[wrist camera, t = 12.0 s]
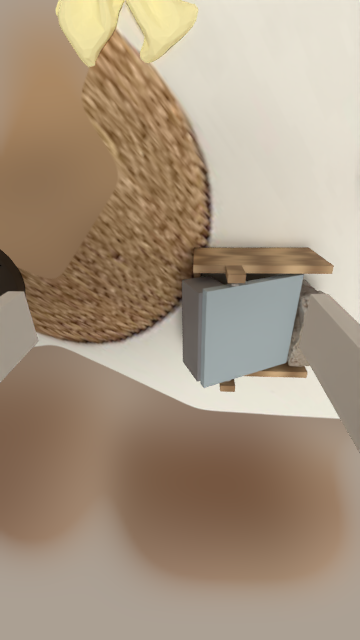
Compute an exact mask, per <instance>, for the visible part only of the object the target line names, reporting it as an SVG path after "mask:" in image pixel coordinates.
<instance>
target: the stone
mask: <svg viewBox="0 0 360 640" xmlns="http://www.w3.org/2000/svg"><path fill="white" fill-rule="evenodd" d="M310 294H325V293H323V292H322V291H316V290H315V289H314V288H313V287H312V286H311V285H310V284H309V283H308V282H307V281H306V280H303V281H302V286H301V291H300V296H299V301H298V306H297V311H296V316H295V321H294V326H293V331H292V336H291V342H290V347H289V352H288V357H287V362H288V364H289V366H298V367H301V366H310V364H309V363H308V361H307V359H306V357H305V356H304V354H303V352H302V350H301V349H300V347H299V345H300V341H301V336H302V331H303V327H304V322H305V317H306V313H307V308H308V304H309V299H310Z"/></svg>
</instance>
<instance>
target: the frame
mask: <svg viewBox="0 0 360 640" xmlns="http://www.w3.org/2000/svg"><path fill="white" fill-rule="evenodd" d="M333 267H334V266H333V265H332V264H331V263H329V262H328V261H326V260H325V259H324V258H322V257H321V256H319V255H318V254H317V253H315V252H314V251H312V250H311V249H310V248H194V261H193V273H194V278H198V277H200V275H201V273H225V275H226V279H227V283H245V281H246V273H286V274H332V271H333ZM245 376H260V377H299V378H306V377H307V370H306V369H305V367H304V366H301V367H298V366H289V364H288V362H286V363H284V364H281V365H277V366H274V367H271V368H268V369H264V370H261V371H258V372H254V373H251V374H248V375H245ZM220 391H226V392H235V383H234V379H231V381H225V382H222V383H220Z"/></svg>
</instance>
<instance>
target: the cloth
mask: <svg viewBox="0 0 360 640" xmlns="http://www.w3.org/2000/svg"><path fill="white" fill-rule="evenodd" d="M123 2H124V0H59V1H58V3H57V6H56V15H57V16H58V19H59V26H60V28H61V29H62V31H63V32H64V34H65V36H66V37H67V39H68V40H69V42H70V44H71V45H72V47H73V48H74V50H75V51H76V53H77V54H78V56H79V57H80V59H81V61H82V62H83V63H84V64H85V65H87V67H88V68H89V67H91V66H95V62H96V60H97V58H98V56H99V53H100V51H101V50H102V48H103V47H104V45H105V44H106V43H107V41H108V40H109V38H110V37H111V35H112V34H113V32H114V30H115V28H116V24H117V19H118V14H119V10H120V8H121V6H122V4H123ZM126 2H127V4H128V6H129V8H130V10H131V11H132V13H133V15H134V17H135V19H136V21H137V23H138V25H139V26H140V28H141V29H142V31H143V34H144V36H145V38H144V43H143V46H142V49H141V51H140V58H141V59H142V60H143V61H144V62H145V63H150V62H153V61H155V60H157V59H158V58H160V57H161V56H162V55H163V54H165V53H166V51H167V50H168V49H169V48H170V47H171V46H173V45H174V44H175V43H176V42H178V41H179V40H180V39H181V38H182V37H183V36H184V35H185V34H186V33H187V32H188V31H189V30H190V29H191V28H192V27H193V25H194V23H195V21H196V18H197V13H198V8H197V7H196V5H195V4H191V3H187V2H184V1H181V0H126Z"/></svg>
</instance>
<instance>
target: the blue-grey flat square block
mask: <svg viewBox="0 0 360 640" xmlns="http://www.w3.org/2000/svg"><path fill="white" fill-rule="evenodd" d="M303 276H304V274H285V275H279V276H273V277H268V278H262V279H256V280H251V281H245V283H231V284H228V285H223V284H222V283H220V282H218V281H217V280H215V279H214V278H212V277H211V276H204V277H198V278H191V279H185V280H182V325H183V362H184V364H185V365H186V366H187V368H188V369H189V371H190V372H191V373H192V375H193V376H194V378H195V379H196V380H197V381H201V385H202V386H203V387H204V388H205V387H208V386H212V385H215V384H218V383H222V382H225V381H231V379H235V378H238V377H241V376H245V375H248V374H251V373H254V372H258V371H261V370H264V369H268V368H271V367H274V366H277V365H281V364H284V363H286V362H287V357H288V352H289V347H290V342H291V336H292V331H293V326H294V321H295V316H296V311H297V306H298V301H299V296H300V291H301V286H302V281H303Z"/></svg>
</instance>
